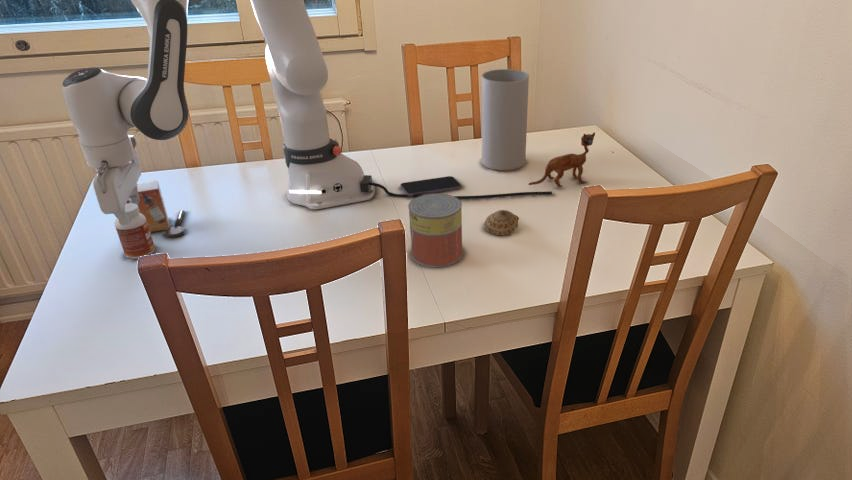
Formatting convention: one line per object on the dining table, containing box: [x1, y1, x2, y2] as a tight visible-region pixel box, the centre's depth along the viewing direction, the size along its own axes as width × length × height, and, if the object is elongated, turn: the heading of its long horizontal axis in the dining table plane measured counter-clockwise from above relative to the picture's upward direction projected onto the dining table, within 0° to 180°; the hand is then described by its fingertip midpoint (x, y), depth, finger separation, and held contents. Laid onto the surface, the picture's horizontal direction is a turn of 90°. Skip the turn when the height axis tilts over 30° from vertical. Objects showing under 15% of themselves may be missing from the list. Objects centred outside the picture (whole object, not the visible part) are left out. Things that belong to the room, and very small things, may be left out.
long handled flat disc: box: [164, 209, 185, 239], centre depth 154 cm, size 13×4×1 cm, turn 13°
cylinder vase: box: [481, 68, 530, 172], centre depth 179 cm, size 12×12×25 cm
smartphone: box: [400, 175, 462, 196], centre depth 171 cm, size 7×1×15 cm
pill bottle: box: [113, 203, 156, 260], centre depth 140 cm, size 6×6×11 cm
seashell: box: [483, 209, 520, 236], centre depth 152 cm, size 8×6×8 cm
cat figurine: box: [527, 131, 596, 188], centre depth 170 cm, size 18×7×14 cm, turn 109°
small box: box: [126, 179, 171, 233], centre depth 150 cm, size 8×6×10 cm
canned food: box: [407, 192, 464, 268], centre depth 139 cm, size 11×11×12 cm
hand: (130, 213), depth 138 cm, fingers open, 8 cm apart
